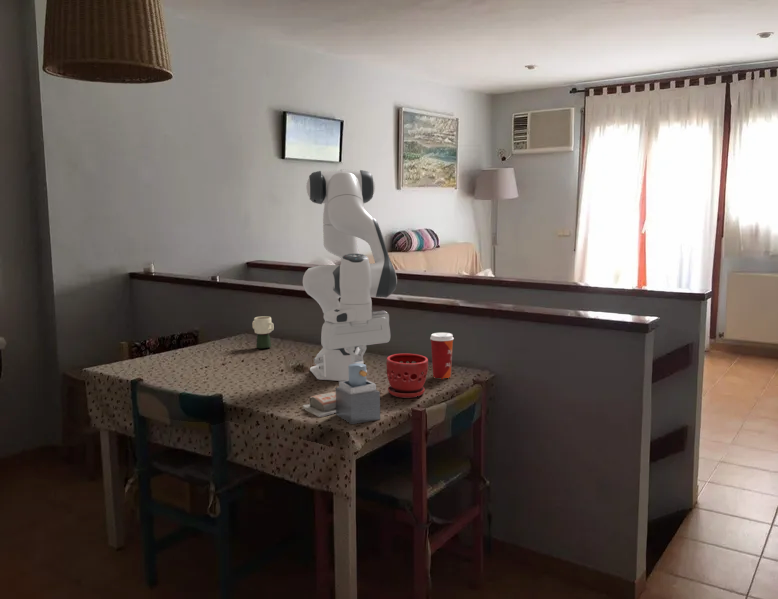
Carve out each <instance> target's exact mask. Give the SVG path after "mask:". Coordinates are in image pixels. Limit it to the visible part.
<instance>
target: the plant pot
mask: <svg viewBox="0 0 778 599" xmlns="http://www.w3.org/2000/svg"><path fill="white" fill-rule="evenodd" d="M407 362H408V363H407ZM428 371H429V358H428V357H426V356H424V355H422V354H417V353H394V354H391V355H388V356H387V358H386V377H387V380H388V383H389V386H388V387H387V391H388V393H389V394H390V395H391V396H394V397H395V398H400V399H401V398H402V399H411V398H413V399H414V398H418V397H420V396H422V395H423V394H424V393H425V387H424V386H425V383H426V380H427V376H428V375H427V374H428ZM417 396H418V397H417Z"/></svg>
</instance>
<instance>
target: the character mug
mask: <svg viewBox="0 0 778 599" xmlns="http://www.w3.org/2000/svg"><path fill="white" fill-rule="evenodd" d="M251 325H252V329H253V330H254V334H256V335H257V336H256V345H255V346H256V348H257V349H266V348H267V349H268V348H272V341H271V336H270V333H272V331H274V328H275V327H274V323H273V322H272V317H271V316H267V315H266V316H265V315H264V316H256V317H254V318H253V321H252V324H251Z"/></svg>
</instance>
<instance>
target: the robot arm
mask: <svg viewBox="0 0 778 599" xmlns="http://www.w3.org/2000/svg"><path fill="white" fill-rule="evenodd" d="M306 181H307V182H306V193H307V196H308V197H309V200H310V201H311V202H312V203H314V204H317V205H318V204H319V205H322V204H323V212H322V213H323V214H322V224H323V225H322V228H323V229H322V232H323V234H322V235H323V239H322V240H323V246H324V248H325V250H326V251H327V252H328V253H330V254H332V255H334V256H336V257H338V258H339V259H340V264H334V265H333V264H331V265H329V264H328V265H327V264H326V265H324V264H323V265H317V266H312V267H308V269H307V270H305V272H304V275H303V277H302V286H303V289H304V291H305V293H306V294H307V295H308V296H310V297H311V298H312V299H313V300H315V302H317V304H319V306H320V308H321V310H322V313H323V319H324V323H323V324H322V327H321V335H320V336H321V338H320V342H321V346H322V348H321V350H320V351H319V352H318V353H317V354H316V357H314V358H313V360H314V363H313V364H315V365H314V366H311V367H310V368H309V371H310V372H311V374H313V376H314V377H315V378H316V379H317V380H320V381H322V380H324V381H338V382H340V381H346V380H349V368H348V365H350V364H355V363H361V364H364V355H365V353H366V351H367V346H370V345H371V346H372V345H377V344H386V343H389V342H390V341H391V328H390V314H389V313H388V312H387V311H385V310H381V309H380V310H373V302H372V300H373V299H372V297H375V298H388V297H390V295H392V294H393V293H394V292H395V291H396V289H397V285H398V276H397V272H396V270H395V268H394V264H393V263H392V261H391V258H390V255H389V252H388V249H387V245H386V243H385V240H384V237H383V234H382V231H381V227H380V225H379V223H378V220H377V219H376V218H375V217H374V216H371V214H370V213H369V212H368V211H367V210H366V208H365V204H366V203H368V202H370V201H371V200H372V199H373V197H374V193H375V191H376V183H375V180H374V177H373V175H372V172H370V171H368V170H361V169H360V170H356V169H355V170H353V169H339V170H337V169H336V170H335V169H334V170H325V171H321V170H318V171H313V172H312V173H311V174H310V175H309V176H308V179H307V180H306ZM358 238H359V239H360V240H363V241H365V242H366V243H367V244H368V245H369V247H370V251H371V254H372V257H373V260H374V263H373V262H372V263H370V259H369V257H368V256H367V255H365V254H362V253H360V251H359V248H358V242H357V241H358V240H357V239H358ZM366 372H367V373H368V370H367V369H366Z"/></svg>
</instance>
